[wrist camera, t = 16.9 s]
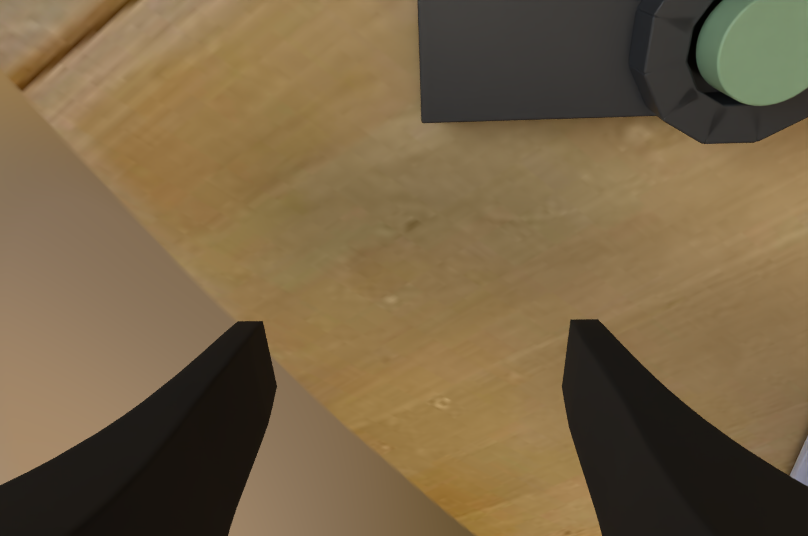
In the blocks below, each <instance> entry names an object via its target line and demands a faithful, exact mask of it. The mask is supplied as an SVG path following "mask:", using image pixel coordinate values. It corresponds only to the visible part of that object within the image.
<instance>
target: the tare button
mask: <svg viewBox="0 0 808 536" xmlns="http://www.w3.org/2000/svg"><path fill="white" fill-rule="evenodd" d="M696 62H697V66H698V69H699V71H700V74H701V75H702V77H703V78H704V80H705V81H706V82H707V83H708V84H709V85H711V86H712V87H713V88H715V89H717V90H719V91H720V92H722V93H724V94H726V95H727V96H729V97H731V98H733V99H734V100H736V101H738V102H740V103H743V104H746V105H752V106H766V105H772V104H777V103H780V102H783V101H786V100H788V99H790V98H792V97H794V96H796V95H798V94H799V93H801V92H802V91H804V90H805V89H807V88H808V0H722V1H721V2H720V3H719V4H718V5H717V6H716V7H715V8H714V9H713V10H712V12H711V13H710V14H709V16H708V17H707V19H706V20H705V22H704V24H703V26H702V28H701V31H700V33H699V36H698V40H697V45H696Z"/></svg>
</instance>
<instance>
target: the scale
mask: <svg viewBox="0 0 808 536" xmlns="http://www.w3.org/2000/svg"><path fill="white" fill-rule="evenodd" d="M721 1H722V0H418V26H419V58H420V89H421V121H422V123H444V122H476V121H508V120H540V119H573V118H605V117H637V116H658V117H659V118H660V119H661V120H663V121H664V122H666V123H668V124H669V125H671V126H673V127H674V128H676V129H678V130H679V131H681V132H683V133H685V134H686V135H688V136H690V137H691V138H693V139H695V140H696V141H698V142H700V143H702V144H703V143H704V144H719V143H754V142H756V141H760V140H762V139H764V138H766V137H768V136H770V135H772V134H774V133H776V132H779V131H781V130H783V129H785V128H787V127H789V126H791V125H793V124H795V123H797V122H799V121H801V120H803V119H805V118H807V117H808V88H807V89H805V90H804V91H802V92H801V93H799V94H798V95H796V96H794V97H792V98H790V99H788V100H786V101H783V102H780V103H777V104H772V105H766V106H752V105H746V104H743V103H740V102H738V101H736V100H734V99H733V98H731V97H729V96H727V95H726V94H724V93H722V92H720V91H719V90H717V89H715V88H713V87H712V86H711V85H709V84H708V83H707V82H706V81H705V80H704V78H703V77H702V75H701V74H700V71H699V69H698V66H697V62H696V45H697V40H698V36H699V33H700V31H701V28H702V26H703V24H704V22H705V20H706V19H707V17H708V16H709V14H710V13H711V12H712V10H713V9H714V8H715V7H716V6H717V5H718V4H719V3H720V2H721Z"/></svg>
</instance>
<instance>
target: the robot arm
mask: <svg viewBox="0 0 808 536" xmlns="http://www.w3.org/2000/svg"><path fill="white" fill-rule="evenodd" d="M276 388H277V385H276V380H275V375H274V371H273V366H272V361H271V357H270V352H269V348H268V343H267V338H266V334H265V329H264V325H263V321H238V322H237V323H235V324H234V325H233V326H232V327H231V328H230V329H228V330H227V331H226V332H225V333H224V334H223V335H221V336H220V337H219V338H218V339H217V340H216V341H215V342H214V343H213V344H211V345H210V346H209V347H208V348H207V349H206V350H205V351H204V352H203V353H201V354H200V355H199V356H198V357H197V358H196V359H194V360H193V361H192V362H191V363H190V364H189V365H188V366H186V367H185V368H184V369H183V370H182V371H181V372H179V373H178V374H177V375H176V376H175V377H173V378H172V379H171V380H170V381H168V382H167V383H166V384H165V385H163V386H162V387H161V388H159V389H158V390H157V391H156V392H155V393H153V394H152V395H151V396H149V397H148V398H147V399H146V400H144V401H143V402H142V403H140V404H139V405H138V406H136V407H135V408H133V409H132V410H131V411H129V412H128V413H126V414H125V415H124V416H122V417H121V418H119V419H118V420H116V421H115V422H113V423H112V424H110V425H109V426H107V427H106V428H104V429H103V430H101V431H99V432H98V433H96V434H95V435H93V436H91V437H90V438H88V439H86V440H84V441H83V442H81V443H79V444H77V445H76V446H74V447H73V448H71V449H69V450H67V451H66V452H64V453H62V454H60V455H59V456H57V457H55V458H53V459H52V460H50V461H48V462H46V463H44V464H42V465H41V466H38V467H36V468H35V469H33V470H31V471H29V472H27V473H25V474H23V475H21V476H19V477H17V478H14V479H12V480H10V481H8V482H6V483H4V484H3V485H0V536H228V534H229V530H230V526H231V523H232V520H233V517H234V514H235V511H236V508H237V506H238V503H239V500H240V498H241V495H242V492H243V490H244V487H245V485H246V482H247V479H248V477H249V474H250V471H251V469H252V466H253V464H254V461H255V458H256V456H257V453H258V450H259V448H260V445H261V442H262V440H263V437H264V434H265V431H266V428H267V426H268V423H269V418H270V415H271V410H272V406H273V402H274V397H275V392H276ZM562 390H563V396H564V402H565V408H566V413H567V419H568V424H569V428H570V431H571V435H572V438H573V441H574V445H575V448H576V451H577V454H578V457H579V461H580V464H581V467H582V470H583V473H584V476H585V479H586V483H587V486H588V489H589V492H590V495H591V498H592V501H593V505H594V508H595V511H596V514H597V518H598V521H599V525H600V529H601V532H602V536H808V436H807V438H806V441H805V443H804V445H803V447H802V449H801V452H800V454H799V456H798V458H797V460H796V463H795V465H794V467H793V469H792V471H791V474H790V476H789V475H787V474H785V473H784V472H782V471H780V470H779V469H777V468H775V467H774V466H772V465H771V464H769V463H767V462H766V461H764V460H763V459H761V458H760V457H758V456H756V455H755V454H753V453H752V452H750V451H748V450H747V449H745V448H744V447H742V446H741V445H739V444H738V443H737V442H735V441H734V440H732V439H731V438H729V437H728V436H727V435H725V434H724V433H722V432H721V431H720V430H718V429H717V428H716V427H714V426H713V425H712V424H710V423H709V422H707V421H706V420H705V419H703V418H702V417H701V416H700V415H698V414H697V413H696V412H695V411H693V410H692V409H691V408H690V407H688V406H687V405H686V404H685V403H684V402H682V401H681V400H680V399H679V398H678V397H677V396H675V395H674V394H673V393H672V392H671V391H670V390H668V389H667V388H666V387H665V386H664V385H663V384H662V383H661V382H660V381H659V380H657V379H656V378H655V377H654V376H653V375H652V374H651V373H650V372H649V371H648V370H647V369H646V368H645V367H644V366H643V365H642V364H641V363H640V362H639V361H638V360H637V359H636V358H635V357H634V356H633V355H632V354H631V353H630V352H629V351H628V350H627V349H626V348H625V347H624V346H623V345H622V344H621V343H620V342H619V341H618V340H617V339H616V338H615V337H614V335H613V334H612V333H611V332H610V331H609V330H608V329H607V328H606V327H605V326H604V325H603V324H602V323H601V322H600V321H599V320H598V319H586V320H571V321H570V328H569V336H568V344H567V352H566V359H565V367H564V375H563V383H562Z"/></svg>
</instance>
